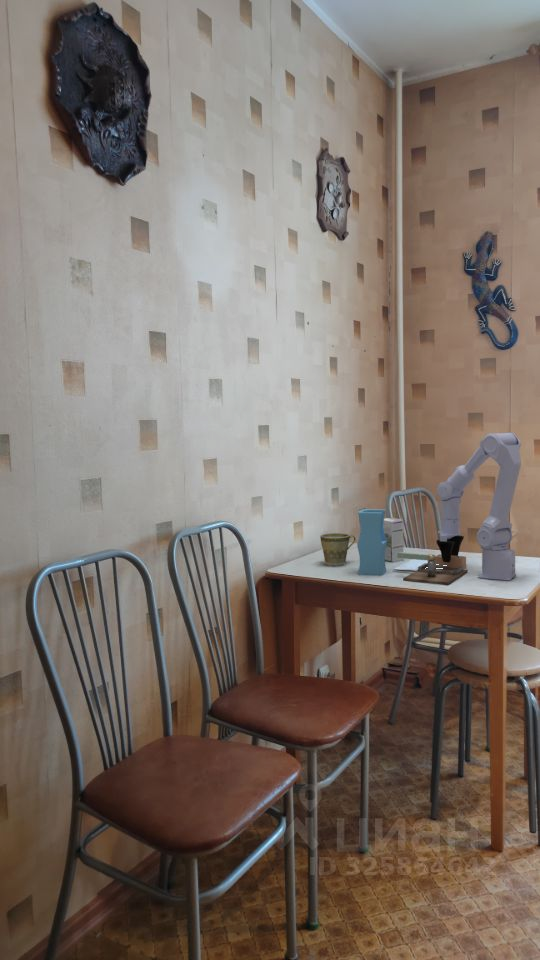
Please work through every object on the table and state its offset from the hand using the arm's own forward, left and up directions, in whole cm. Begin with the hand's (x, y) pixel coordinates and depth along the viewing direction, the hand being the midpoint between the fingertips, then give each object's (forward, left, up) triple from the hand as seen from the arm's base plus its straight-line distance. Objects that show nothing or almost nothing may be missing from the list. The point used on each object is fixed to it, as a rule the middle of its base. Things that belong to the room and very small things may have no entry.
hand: (450, 559), depth 232 cm
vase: (+20, +17, -3) cm, 26 cm away
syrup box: (+22, -4, -3) cm, 22 cm away
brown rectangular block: (0, 0, -3) cm, 3 cm away
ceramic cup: (+36, +9, -3) cm, 37 cm away
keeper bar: (+5, +18, +3) cm, 19 cm away
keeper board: (0, +14, -3) cm, 14 cm away
